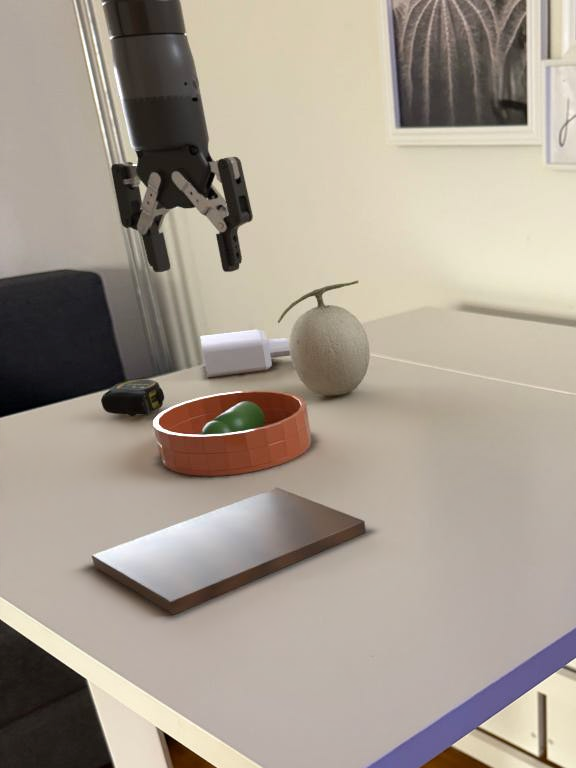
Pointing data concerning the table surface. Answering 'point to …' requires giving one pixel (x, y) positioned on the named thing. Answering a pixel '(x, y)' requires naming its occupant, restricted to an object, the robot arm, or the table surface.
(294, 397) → the bowl
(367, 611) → the table surface
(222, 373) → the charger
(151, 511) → the table surface
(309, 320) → the fruit
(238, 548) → the board
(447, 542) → the table surface
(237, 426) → the cucumber
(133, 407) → the tape measure
